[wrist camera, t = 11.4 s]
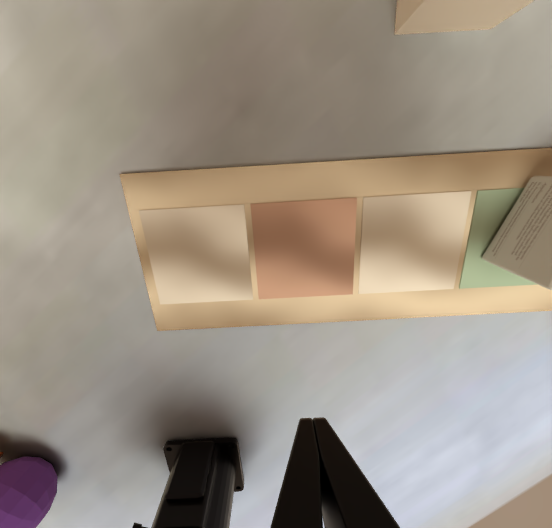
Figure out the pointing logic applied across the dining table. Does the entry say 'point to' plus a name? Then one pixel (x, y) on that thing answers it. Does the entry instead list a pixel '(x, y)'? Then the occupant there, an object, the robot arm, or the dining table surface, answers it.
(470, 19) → the die
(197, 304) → the game board
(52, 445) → the dining table surface
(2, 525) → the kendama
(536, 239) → the small box
